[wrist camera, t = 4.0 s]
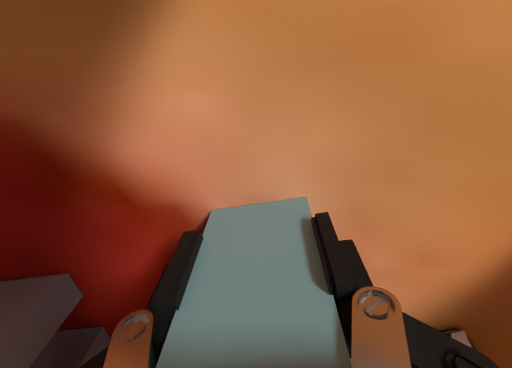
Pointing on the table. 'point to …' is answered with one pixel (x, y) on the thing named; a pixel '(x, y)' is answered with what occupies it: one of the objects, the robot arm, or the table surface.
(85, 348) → the domino
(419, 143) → the table surface
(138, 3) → the table surface
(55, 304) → the domino
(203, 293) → the domino
